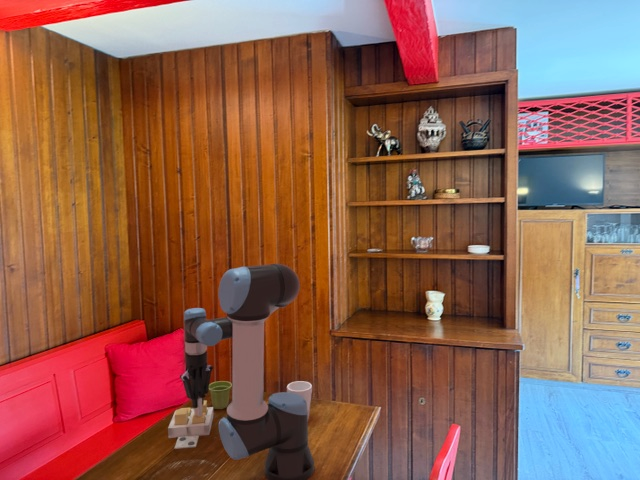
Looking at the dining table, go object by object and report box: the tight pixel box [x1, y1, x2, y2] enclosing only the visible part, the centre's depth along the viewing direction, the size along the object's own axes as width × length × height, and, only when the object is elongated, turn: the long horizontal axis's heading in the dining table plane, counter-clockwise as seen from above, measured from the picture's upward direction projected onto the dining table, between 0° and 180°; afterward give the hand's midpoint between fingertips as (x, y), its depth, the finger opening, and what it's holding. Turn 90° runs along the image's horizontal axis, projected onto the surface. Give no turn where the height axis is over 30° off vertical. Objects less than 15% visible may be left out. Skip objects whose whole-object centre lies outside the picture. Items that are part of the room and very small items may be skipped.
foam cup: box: [286, 380, 313, 420], centre depth 164 cm, size 10×9×13 cm
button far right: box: [202, 400, 208, 415], centre depth 163 cm, size 4×4×4 cm
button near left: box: [174, 408, 188, 425], centre depth 157 cm, size 4×4×4 cm
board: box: [167, 406, 214, 439], centre depth 160 cm, size 14×14×4 cm
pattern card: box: [174, 435, 200, 450], centre depth 150 cm, size 7×7×1 cm
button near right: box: [192, 413, 205, 424], centre depth 158 cm, size 4×4×4 cm
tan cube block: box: [179, 407, 192, 416], centre depth 163 cm, size 4×4×4 cm
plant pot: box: [208, 380, 232, 410], centre depth 176 cm, size 9×9×9 cm
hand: (198, 414), depth 157 cm, fingers closed
